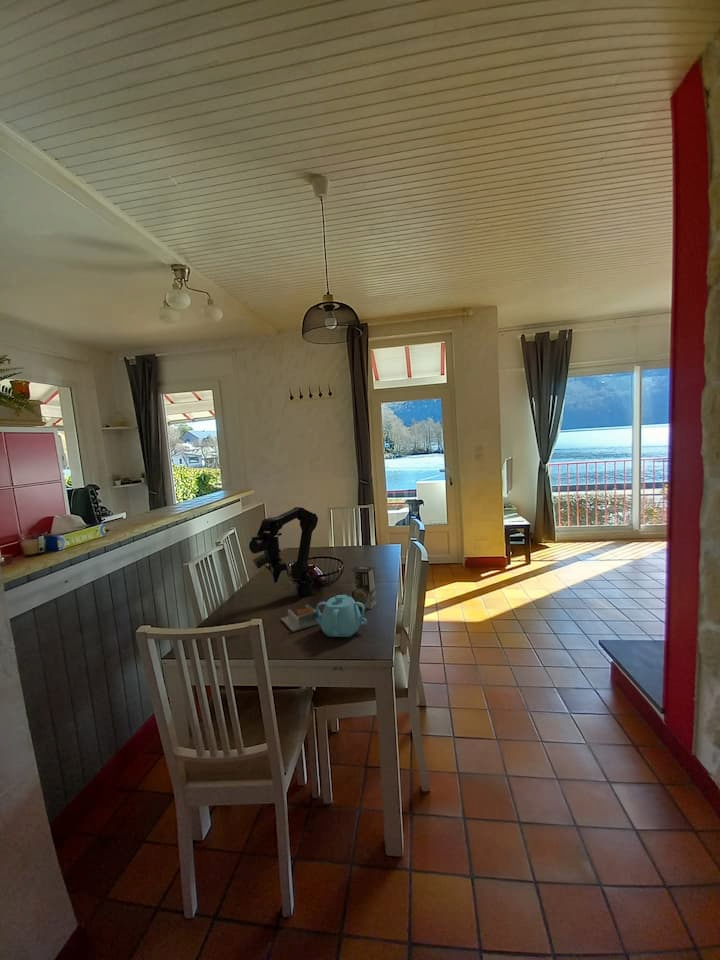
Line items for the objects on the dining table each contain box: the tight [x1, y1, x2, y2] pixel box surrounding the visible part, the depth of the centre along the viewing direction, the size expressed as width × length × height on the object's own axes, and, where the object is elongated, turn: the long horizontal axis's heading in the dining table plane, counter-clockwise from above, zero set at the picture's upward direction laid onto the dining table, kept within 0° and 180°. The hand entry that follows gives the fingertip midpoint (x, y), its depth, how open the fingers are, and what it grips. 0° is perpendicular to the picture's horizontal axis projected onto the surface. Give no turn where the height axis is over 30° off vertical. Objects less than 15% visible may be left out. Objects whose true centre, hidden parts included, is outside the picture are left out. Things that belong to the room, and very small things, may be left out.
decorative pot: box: [315, 594, 368, 638], centre depth 145 cm, size 16×16×14 cm
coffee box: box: [349, 566, 377, 610], centre depth 167 cm, size 9×6×16 cm
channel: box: [280, 604, 322, 633], centre depth 156 cm, size 15×13×5 cm
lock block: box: [296, 606, 315, 616], centre depth 155 cm, size 5×7×4 cm
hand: (275, 582), depth 169 cm, fingers closed
